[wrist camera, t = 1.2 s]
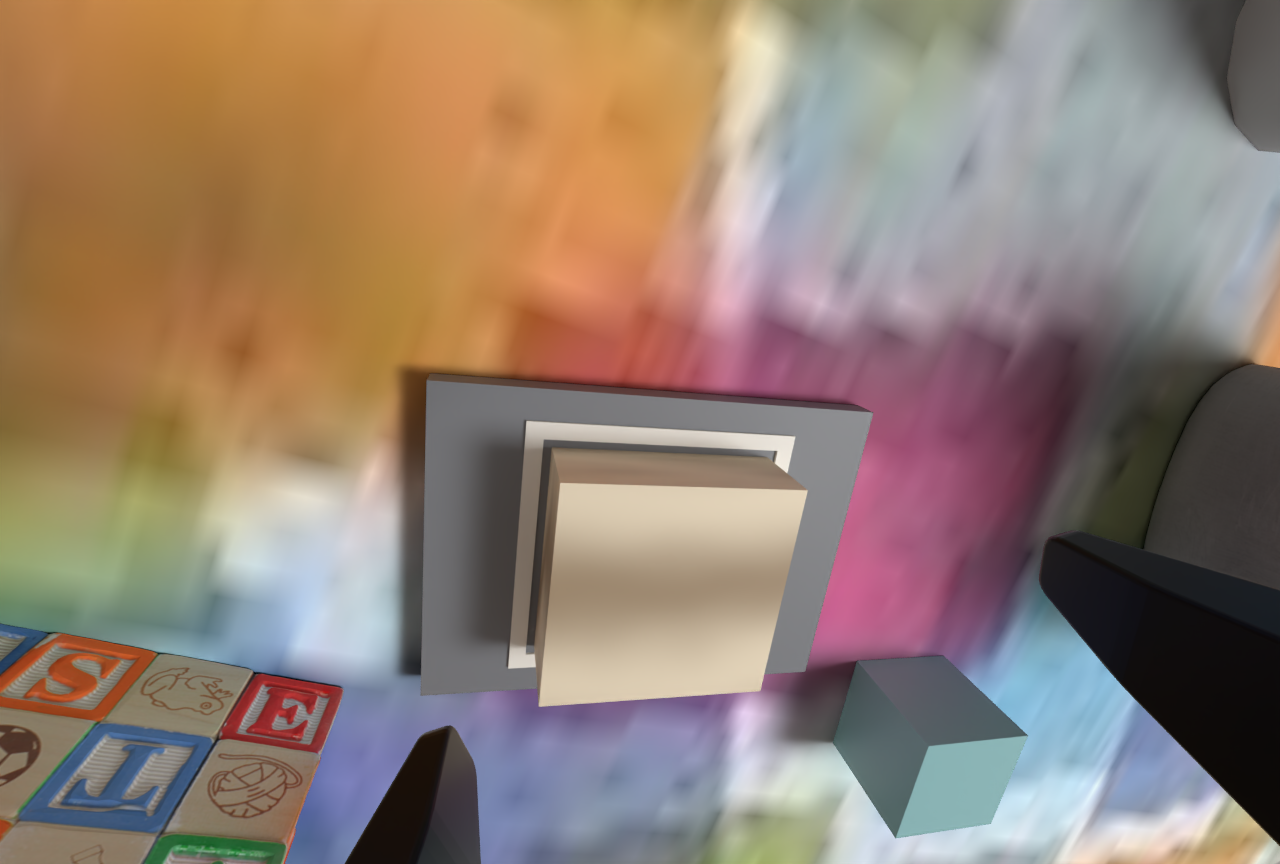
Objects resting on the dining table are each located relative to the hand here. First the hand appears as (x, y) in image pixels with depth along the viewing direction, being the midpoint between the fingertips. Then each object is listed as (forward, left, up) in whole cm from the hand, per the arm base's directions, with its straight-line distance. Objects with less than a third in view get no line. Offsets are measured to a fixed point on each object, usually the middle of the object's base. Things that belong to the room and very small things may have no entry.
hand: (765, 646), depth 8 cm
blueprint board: (-5, -2, -13) cm, 14 cm away
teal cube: (-14, -16, -13) cm, 25 cm away
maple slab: (-5, -2, -12) cm, 13 cm away
